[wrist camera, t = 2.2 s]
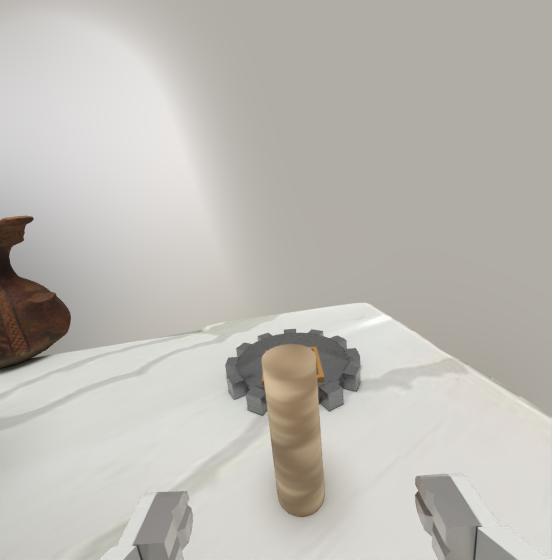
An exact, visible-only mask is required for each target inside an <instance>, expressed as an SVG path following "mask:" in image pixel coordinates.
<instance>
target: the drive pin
mask: <svg viewBox="0 0 552 560" xmlns="http://www.w3.org/2000/svg"><path fill="white" fill-rule="evenodd" d="M262 368H263V376H264V385H265V393H266V401H267V410H268V418H269V426H270V435H271V443H272V452H273V460H274V468H275V477H276V485H277V493H278V499H279V502H280V504H281V506H282V507H283V508H284V509H285V510H286V511H287V512H288V513H290V514H292V515H294V516H299V517H304V516H309V515H311V514H313V513H315V512H316V511H317V510H318V509H319V508H320V507H321V505H322V503H323V500H324V496H325V491H324V476H323V461H322V446H321V431H320V416H319V401H318V386H317V371H316V356H315V353H314V351H313V350H312V349H310V348H308V347H306V346H303V345H298V344H285V345H280V346H276V347H274V348H271V349H270V350H268V351H267V352H265V353H264V355H263V356H262Z"/></svg>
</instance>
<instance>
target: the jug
mask: <svg viewBox="0 0 552 560" xmlns="http://www.w3.org/2000/svg"><path fill="white" fill-rule="evenodd" d="M32 221H33V217H31V216H17V217H10V218H4V219H2V220H0V368H2V367H6V366H10V365H14V364H17V363H20V362H23V361H25V360H28V359H30V358H32V357H34V356H36V355H38V354H39V353H41V352H43V351H45V350H46V349H48V348H49V347H50V346H51V345H53V344H54V343H55V342H56V341H58V340H59V339H60V338H62V337H63V336H64V335H65V334H66V333H67V332H68V329H69V326H70V320H71V316H70V312H69V310H68V308H67V307H66V306H65V304H64V303H63V302H62V301H61V300H60V299H59V298H58V297H57V296H56V294H55V293H53V292H50V291H49V290H48V289H47V288H45V287H44V286H42V285H40V284H38V283H36V282H33V281H31V280H28V279H24V278H21V277H19V276H18V275H17V274H16V273H15V272H14V270H13V269H12V267H11V264H10V259H9V253H10V250H11V247H12V246H13V245H16V244H18V243H20V242H22V241H24V238H23V236H24V229H25V226H26V224H28V223H30V222H32Z"/></svg>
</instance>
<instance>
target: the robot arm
mask: <svg viewBox="0 0 552 560" xmlns="http://www.w3.org/2000/svg"><path fill="white" fill-rule="evenodd" d="M415 485H416V487H417V489H418V492H417V493H416V494H415V502H416V507H417V512H418V515H419V518H420V521H421V523H422V525H423V528H424V530H425V531H426V532H427V533H428V534H430V535H431V536H432V548H433V550H434V552H435V554H436V556H437V558H438V560H552V559H551V558H550V557H549V556H547V555H546V554H544V553H543V552H542V551H540V550H539V549H538V548H536V547H535V546H533V545H532V544H531V543H529V542H528V541H526V540H525V539H524V538H522V537H521V536H520V535H518V534H517V533H515V532H514V531H513V530H511V529H510V528H509V527H507V526H501V525H500V523H499V522H498V521H497V519H496V518H495V516H494V515H493V514H492V512H491V511H490V509H489V508H488V507H487V505H486V504H485V502H484V501H483V500H482V498H481V497H480V495H479V494H478V493H477V491H476V490H475V488H474V487H473V486H472V484H471V483H470V481H469V480H468V479H467V477H466V476H465V475H464V474H462V473H454V474H435V475H423V476H417V477H416V480H415ZM188 500H189V496H188V493H187V491H182V492H153V493H145V494H144V495H143V496H142V497H141V498H140V500H139V502H138V504H137V506H136V508H135V510H134V512H133V514H132V516H131V518H130V520H129V522H128V524H127V526H126V528H125V530H124V532H123V534H122V536H121V538H120V540H119V542H118V543H117V545H116V547H111V548H110V549H109V550H108V551H107V552H106V553H105V554H104V555H103V556H102V557H101V558H100V559H99V560H184V558H183V554H182V550H183V549H184V548H185V546H186V545H187V544H188V543H189V539H190V535H191V531H192V524H193V513H192V509H191V507H189V506H188V505H187V503H188Z"/></svg>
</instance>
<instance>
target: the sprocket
mask: <svg viewBox="0 0 552 560" xmlns="http://www.w3.org/2000/svg"><path fill="white" fill-rule="evenodd" d="M285 344H298V345H303V346H306V347H308V348H310V349H312V350H313V351H314V353H315V356H316V371H317V386H318V401H319V403H321V404H322V405H323V406H324V407H325V408H326V409H327V410H328V411H331V410H333V409H334V408H336V407H338V406H340V405H342V404H343V388H344V389H348V390H352V391H357V389H358V386H359V384H360V355H359V353H358V351H357V349H356V348H353V349H347V345H346V340H345V339H343V338H341V337H339V336H334V337H332V338H327V337H324V336H323V331H319V330H311V331H310V332H309V333H296V329H288V330H284V334H280V335H275V336H272V335H271V334H269V333H266V334H263V335H260V336H258V342H256V343H254V344H249V343H243V344H242V345H240V346H239V347H238V348H236V350H237V357H232V358H228V360H227V363H226V365H225V366H226V373H227V382H228V389H229V392H230V394H231V395H232V397H233V399H234V400H235V399H237V398H240V397H242V396H244V395H246V399H247V406H248V410H249V411H252V412H255V413H257V414H260V415H262V416H263V414H264V413H265V412H266V411H267V401H266V393H265V385H264V376H263V368H262V356H263V355H264V353H265V352H267V351H268V350H270V349H271V348H274V347H276V346H280V345H285Z"/></svg>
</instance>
